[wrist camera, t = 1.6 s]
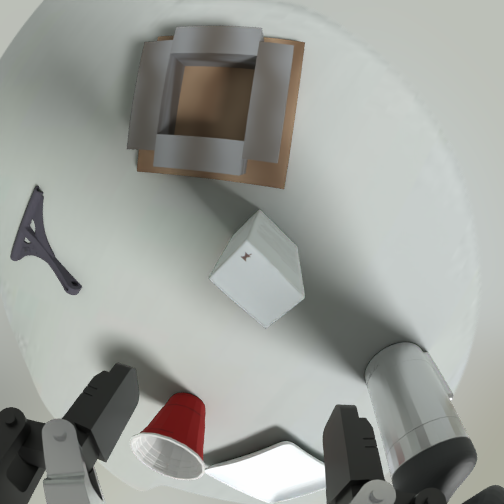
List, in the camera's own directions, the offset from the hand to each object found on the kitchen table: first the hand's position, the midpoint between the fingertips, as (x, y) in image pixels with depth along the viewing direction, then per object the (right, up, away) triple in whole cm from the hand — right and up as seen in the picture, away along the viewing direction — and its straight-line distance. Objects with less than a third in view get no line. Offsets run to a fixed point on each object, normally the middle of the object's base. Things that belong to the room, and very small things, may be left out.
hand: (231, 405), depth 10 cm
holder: (-3, +21, +18) cm, 28 cm away
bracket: (-29, +6, +26) cm, 40 cm away
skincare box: (+2, +7, +22) cm, 23 cm away
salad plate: (+6, -37, +36) cm, 52 cm away
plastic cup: (-9, -18, +31) cm, 37 cm away
